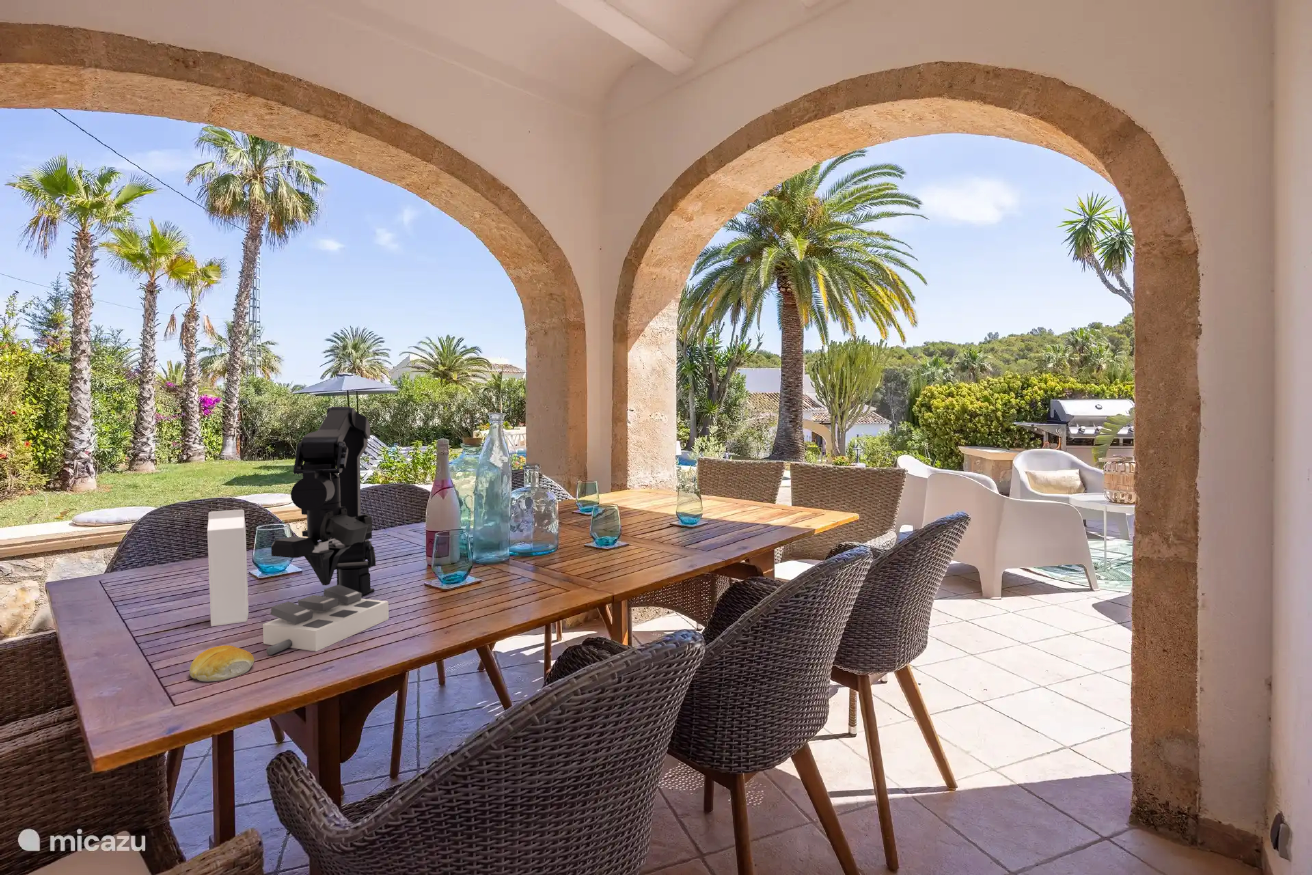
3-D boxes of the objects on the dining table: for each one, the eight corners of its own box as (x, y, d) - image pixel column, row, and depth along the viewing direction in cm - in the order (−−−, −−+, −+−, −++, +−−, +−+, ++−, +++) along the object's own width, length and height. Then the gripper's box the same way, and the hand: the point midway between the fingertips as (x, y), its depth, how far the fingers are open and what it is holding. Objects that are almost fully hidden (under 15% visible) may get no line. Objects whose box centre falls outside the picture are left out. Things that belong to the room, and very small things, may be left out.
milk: (247, 622, 130) (243, 511, 129) (210, 627, 127) (206, 514, 126) (248, 613, 135) (245, 507, 134) (213, 617, 132) (209, 509, 131)
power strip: (243, 651, 114) (242, 630, 114) (340, 613, 135) (340, 595, 135) (296, 659, 110) (296, 637, 110) (388, 619, 131) (388, 600, 131)
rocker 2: (323, 595, 130) (324, 588, 130) (337, 590, 133) (338, 584, 133) (347, 604, 128) (348, 597, 128) (360, 599, 131) (362, 592, 131)
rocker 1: (270, 614, 118) (271, 606, 118) (287, 608, 122) (288, 600, 122) (295, 624, 117) (297, 616, 116) (312, 618, 120) (313, 610, 120)
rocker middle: (298, 607, 124) (298, 599, 124) (313, 602, 127) (313, 594, 127) (323, 611, 122) (323, 603, 122) (338, 605, 126) (338, 598, 126)
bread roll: (234, 658, 112) (233, 635, 111) (262, 669, 107) (261, 645, 107) (178, 675, 105) (177, 650, 104) (205, 688, 100) (204, 662, 100)
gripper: (317, 512, 112) (320, 602, 112) (393, 497, 129) (395, 575, 130) (267, 509, 115) (270, 596, 116) (348, 495, 133) (350, 571, 134)
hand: (326, 584), depth 124 cm, fingers closed
